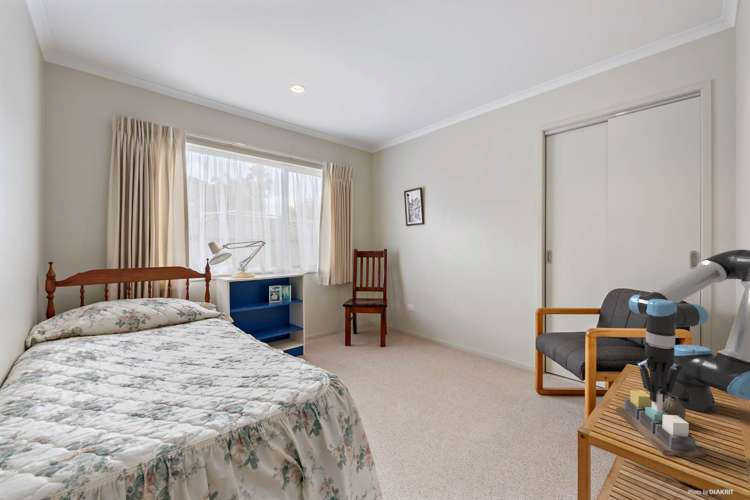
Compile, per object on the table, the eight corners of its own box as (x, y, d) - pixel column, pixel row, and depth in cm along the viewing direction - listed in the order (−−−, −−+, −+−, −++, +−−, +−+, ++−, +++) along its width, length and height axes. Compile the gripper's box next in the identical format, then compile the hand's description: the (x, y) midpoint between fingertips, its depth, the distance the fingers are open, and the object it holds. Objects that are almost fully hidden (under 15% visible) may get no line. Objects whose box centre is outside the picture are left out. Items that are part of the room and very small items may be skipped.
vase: (687, 428, 114) (689, 404, 113) (662, 422, 117) (663, 399, 117) (682, 418, 120) (683, 395, 119) (658, 412, 123) (659, 390, 123)
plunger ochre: (642, 403, 121) (643, 390, 121) (651, 409, 117) (651, 396, 117) (630, 402, 122) (630, 390, 122) (638, 409, 118) (638, 396, 117)
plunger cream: (676, 429, 106) (677, 415, 105) (688, 438, 101) (688, 423, 101) (662, 428, 106) (662, 414, 106) (672, 437, 102) (673, 422, 101)
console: (649, 412, 123) (650, 399, 123) (705, 457, 99) (706, 440, 99) (616, 411, 125) (616, 397, 124) (663, 454, 101) (663, 438, 100)
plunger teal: (658, 421, 114) (658, 407, 113) (667, 428, 109) (668, 414, 109) (644, 420, 114) (645, 407, 114) (653, 428, 110) (654, 414, 110)
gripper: (672, 341, 113) (668, 405, 114) (631, 340, 114) (629, 403, 116) (690, 349, 105) (686, 417, 107) (646, 348, 107) (643, 415, 109)
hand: (656, 410), depth 111 cm, fingers closed
